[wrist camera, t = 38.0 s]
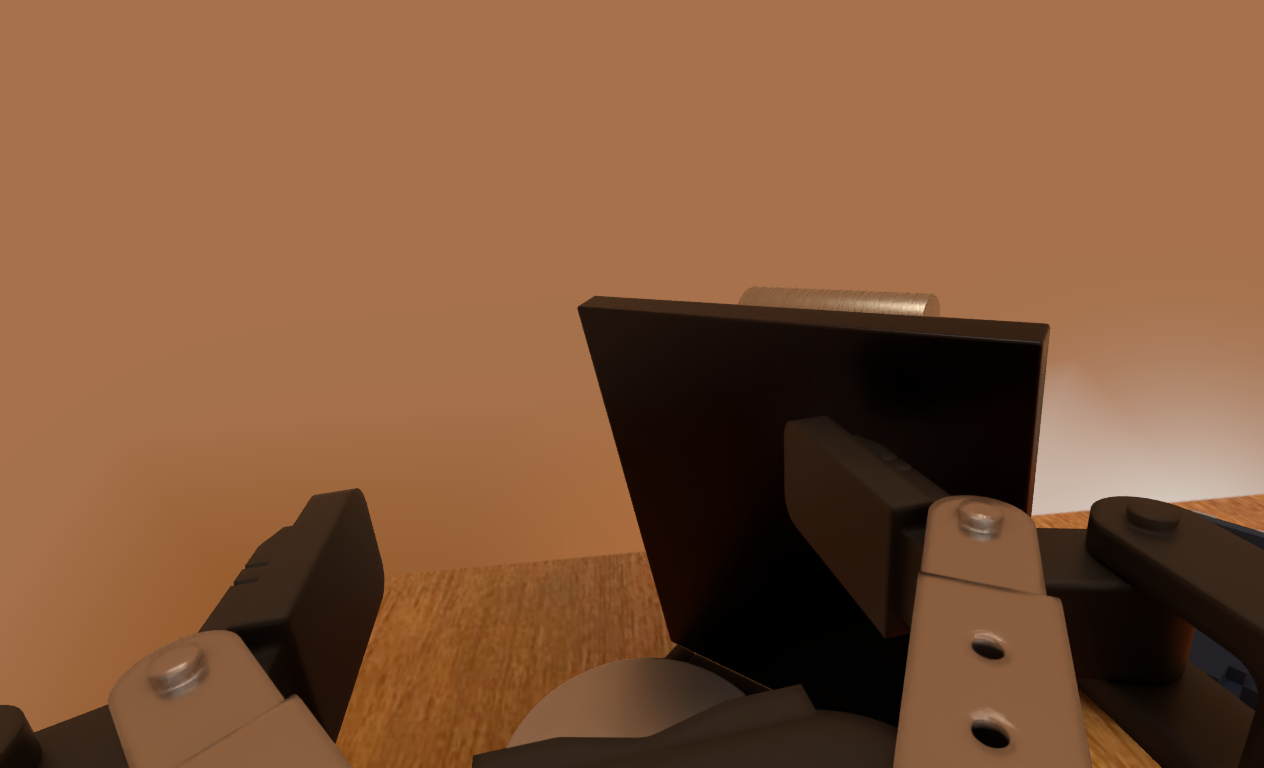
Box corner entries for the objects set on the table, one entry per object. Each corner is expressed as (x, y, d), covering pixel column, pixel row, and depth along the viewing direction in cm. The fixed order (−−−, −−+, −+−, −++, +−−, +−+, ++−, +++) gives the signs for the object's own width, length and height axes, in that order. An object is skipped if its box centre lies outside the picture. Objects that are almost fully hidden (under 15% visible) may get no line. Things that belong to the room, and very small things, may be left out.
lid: (1043, 343, 10) (1083, 238, 13) (575, 306, 17) (677, 242, 20) (999, 799, 16) (1033, 653, 19) (670, 641, 23) (736, 551, 26)
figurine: (1369, 537, 29) (1272, 707, 21) (1344, 612, 30) (1244, 797, 23) (1139, 474, 36) (1004, 584, 28) (1127, 537, 37) (995, 658, 30)
